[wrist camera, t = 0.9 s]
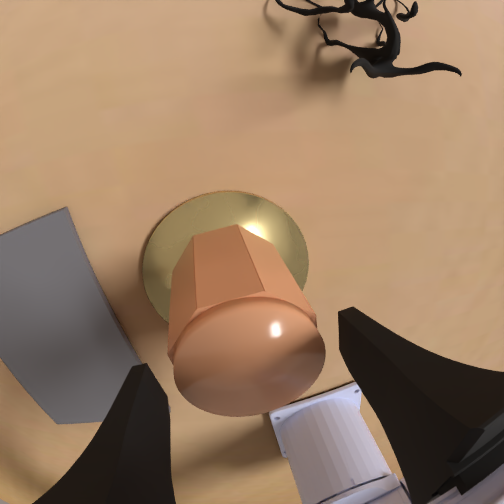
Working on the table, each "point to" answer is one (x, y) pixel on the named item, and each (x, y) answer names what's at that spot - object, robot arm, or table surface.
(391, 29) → the creature
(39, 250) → the charcoal mat
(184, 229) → the brass token
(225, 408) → the octagonal domed knob
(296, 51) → the table surface
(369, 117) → the table surface
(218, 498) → the table surface
